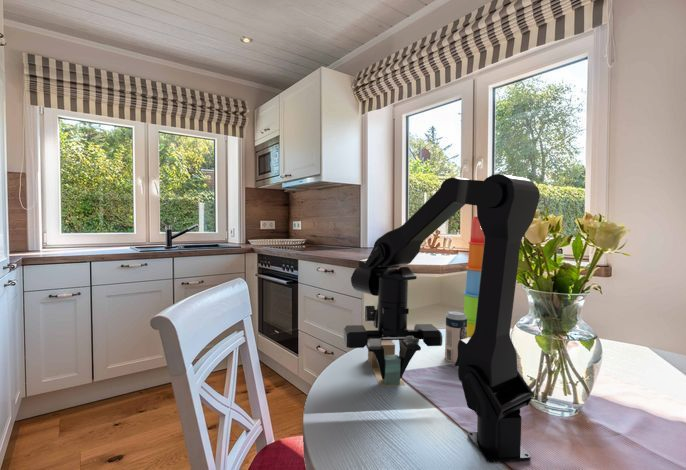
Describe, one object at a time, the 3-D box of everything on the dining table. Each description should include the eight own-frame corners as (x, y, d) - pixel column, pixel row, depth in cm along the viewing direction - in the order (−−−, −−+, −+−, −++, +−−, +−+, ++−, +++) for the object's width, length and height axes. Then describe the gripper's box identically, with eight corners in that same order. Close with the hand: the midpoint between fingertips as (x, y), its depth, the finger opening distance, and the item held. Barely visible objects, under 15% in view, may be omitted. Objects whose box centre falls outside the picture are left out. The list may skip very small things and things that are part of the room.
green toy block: (405, 390, 71) (405, 359, 70) (380, 390, 70) (380, 360, 70) (388, 362, 85) (389, 336, 84) (367, 362, 84) (367, 337, 84)
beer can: (467, 368, 82) (468, 316, 81) (445, 366, 83) (446, 314, 82) (464, 360, 86) (465, 310, 86) (443, 358, 87) (445, 309, 87)
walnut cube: (394, 367, 79) (394, 344, 79) (372, 368, 79) (372, 345, 78) (389, 358, 84) (389, 337, 84) (367, 359, 84) (368, 337, 83)
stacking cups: (452, 341, 100) (456, 216, 99) (488, 340, 101) (491, 217, 100) (469, 355, 90) (473, 216, 89) (508, 354, 91) (512, 216, 90)
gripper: (425, 291, 80) (423, 361, 81) (341, 292, 78) (340, 363, 79) (444, 303, 69) (442, 383, 70) (347, 304, 67) (346, 386, 68)
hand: (391, 378), depth 72 cm, fingers closed on green toy block, 3 cm apart
